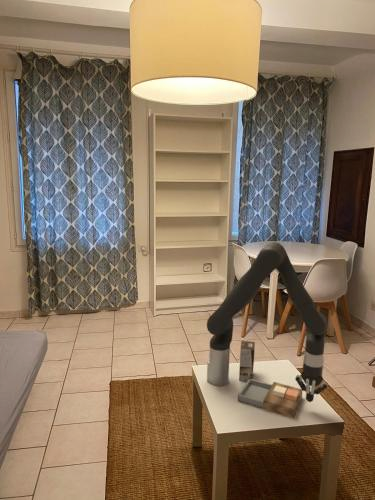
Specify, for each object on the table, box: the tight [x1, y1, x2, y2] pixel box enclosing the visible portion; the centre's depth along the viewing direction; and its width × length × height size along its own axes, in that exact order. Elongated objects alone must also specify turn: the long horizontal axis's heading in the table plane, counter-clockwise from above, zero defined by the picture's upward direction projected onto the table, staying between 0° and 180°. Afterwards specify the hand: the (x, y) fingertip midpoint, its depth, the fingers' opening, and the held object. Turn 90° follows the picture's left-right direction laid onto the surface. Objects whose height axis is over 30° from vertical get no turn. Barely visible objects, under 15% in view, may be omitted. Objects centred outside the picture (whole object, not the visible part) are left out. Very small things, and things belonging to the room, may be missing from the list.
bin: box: [237, 378, 273, 410], centre depth 167 cm, size 11×15×3 cm
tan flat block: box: [262, 381, 303, 419], centre depth 162 cm, size 12×16×4 cm
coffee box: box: [238, 340, 256, 382], centre depth 182 cm, size 9×6×16 cm
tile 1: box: [273, 385, 287, 398], centre depth 162 cm, size 4×4×2 cm
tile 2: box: [285, 389, 299, 401], centre depth 160 cm, size 4×4×2 cm
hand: (309, 400), depth 157 cm, fingers closed
